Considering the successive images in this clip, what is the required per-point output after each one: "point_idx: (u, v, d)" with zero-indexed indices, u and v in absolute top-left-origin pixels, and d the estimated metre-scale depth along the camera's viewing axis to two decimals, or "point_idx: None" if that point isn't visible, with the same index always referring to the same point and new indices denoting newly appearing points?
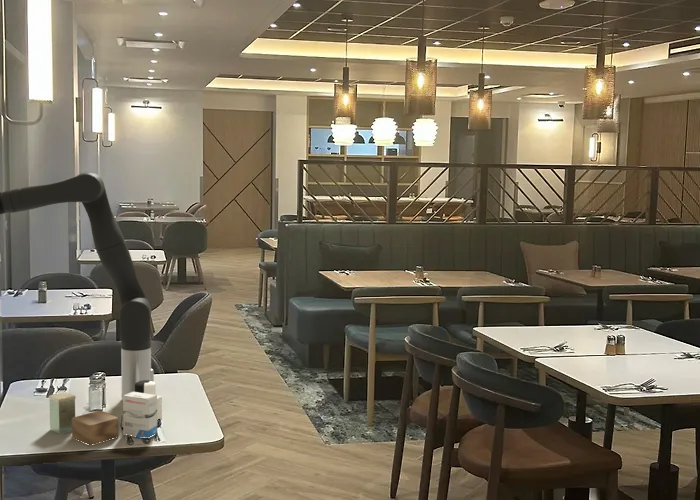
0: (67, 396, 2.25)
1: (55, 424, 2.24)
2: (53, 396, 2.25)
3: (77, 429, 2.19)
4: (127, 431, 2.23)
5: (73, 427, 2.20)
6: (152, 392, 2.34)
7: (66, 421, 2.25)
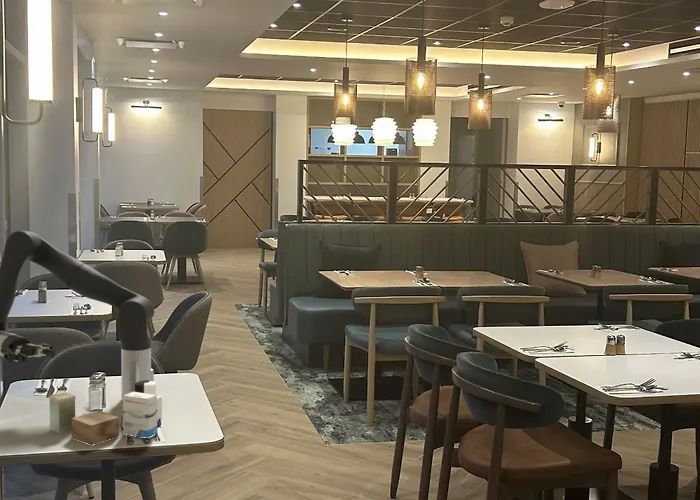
0: (67, 396, 2.25)
1: (55, 424, 2.24)
2: (53, 396, 2.25)
3: (77, 429, 2.19)
4: (127, 431, 2.23)
5: (73, 427, 2.20)
6: (152, 392, 2.34)
7: (66, 421, 2.25)
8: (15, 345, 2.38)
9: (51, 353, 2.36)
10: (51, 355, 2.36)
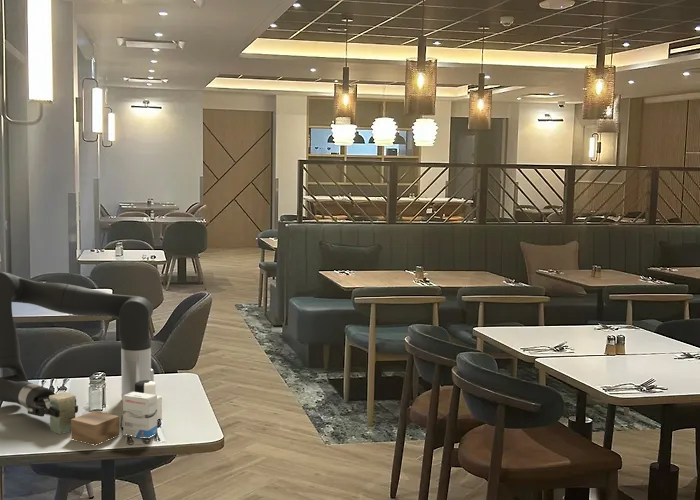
0: (67, 396, 2.25)
1: (55, 424, 2.24)
2: (53, 396, 2.25)
3: (78, 430, 2.18)
4: (127, 431, 2.23)
5: (73, 428, 2.19)
6: (152, 392, 2.34)
7: (66, 421, 2.25)
8: (40, 398, 2.31)
9: None
10: None
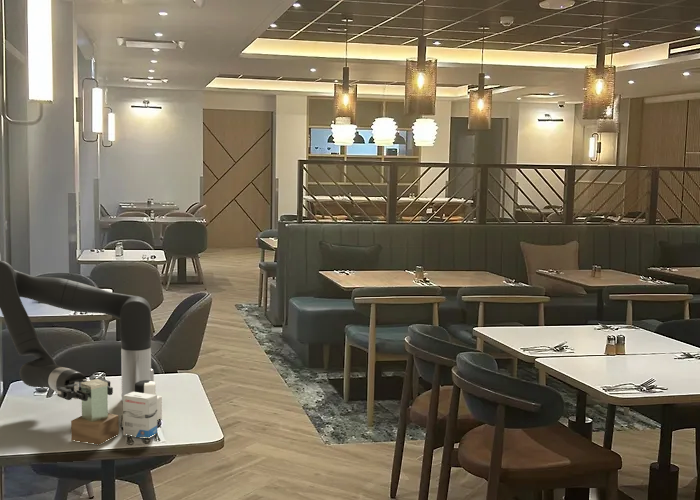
0: (99, 383, 2.19)
1: (87, 411, 2.18)
2: (85, 383, 2.19)
3: (79, 431, 2.18)
4: (127, 431, 2.23)
5: (73, 430, 2.18)
6: (152, 392, 2.34)
7: (99, 409, 2.19)
8: (71, 381, 2.25)
9: (109, 390, 2.22)
10: (109, 392, 2.22)
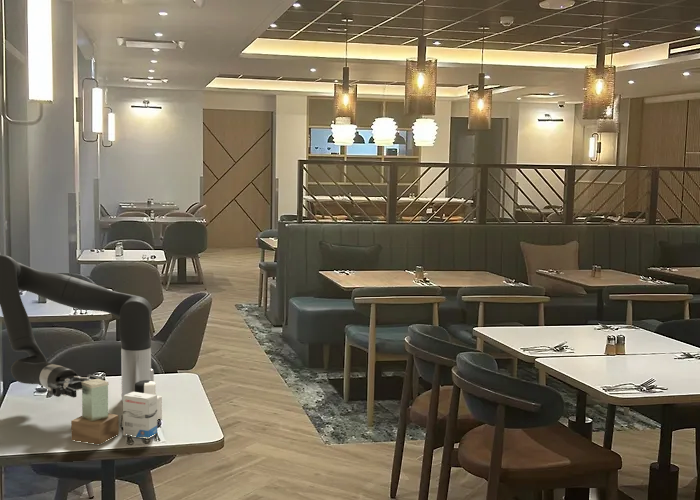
0: (100, 382, 2.20)
1: (88, 411, 2.19)
2: (86, 382, 2.19)
3: (79, 431, 2.18)
4: (127, 431, 2.23)
5: (73, 430, 2.18)
6: (152, 392, 2.34)
7: (99, 408, 2.19)
8: (62, 378, 2.28)
9: None
10: None
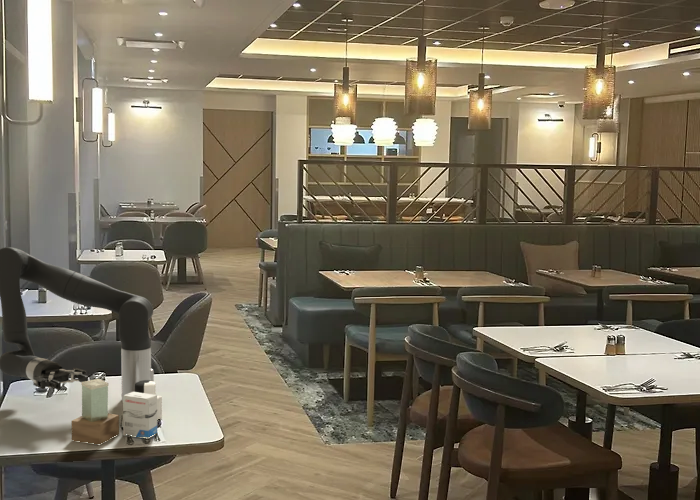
0: (100, 383, 2.19)
1: (87, 411, 2.18)
2: (86, 383, 2.19)
3: (80, 431, 2.17)
4: (127, 431, 2.23)
5: (74, 430, 2.18)
6: (152, 392, 2.34)
7: (99, 409, 2.19)
8: (47, 371, 2.33)
9: (84, 378, 2.30)
10: (85, 380, 2.30)
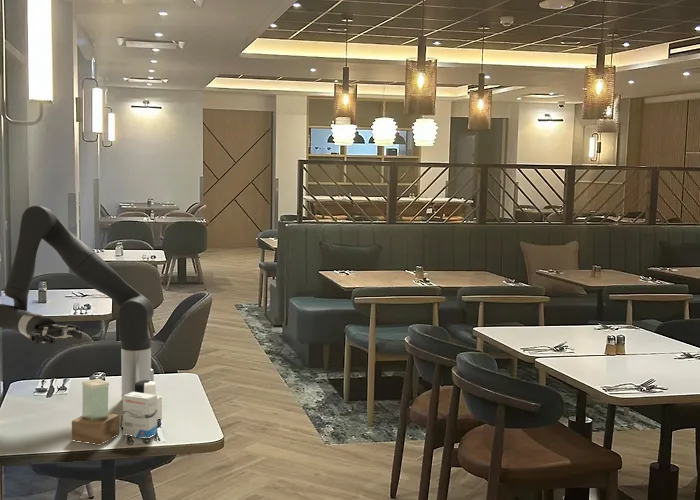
0: (100, 383, 2.19)
1: (87, 411, 2.19)
2: (86, 382, 2.19)
3: (80, 431, 2.18)
4: (127, 431, 2.23)
5: (74, 430, 2.18)
6: (152, 392, 2.34)
7: (99, 409, 2.19)
8: (41, 326, 2.34)
9: (78, 334, 2.32)
10: (78, 336, 2.32)
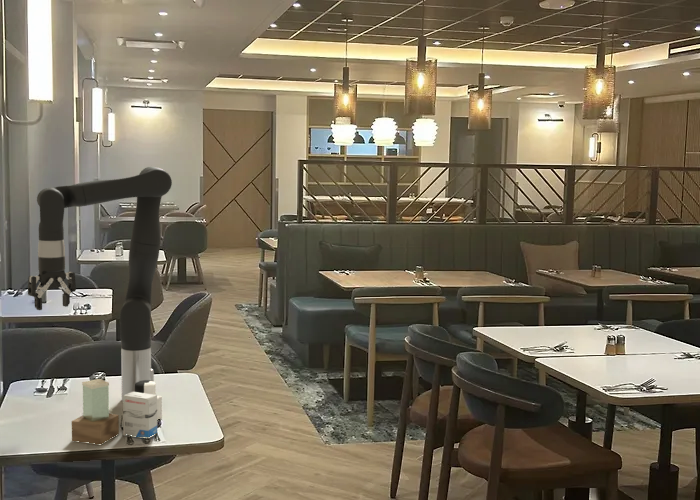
0: (100, 383, 2.19)
1: (88, 411, 2.19)
2: (86, 382, 2.19)
3: (80, 431, 2.17)
4: (127, 431, 2.23)
5: (74, 430, 2.18)
6: (152, 392, 2.34)
7: (99, 409, 2.19)
8: (49, 271, 2.36)
9: (65, 305, 2.42)
10: (64, 304, 2.42)
